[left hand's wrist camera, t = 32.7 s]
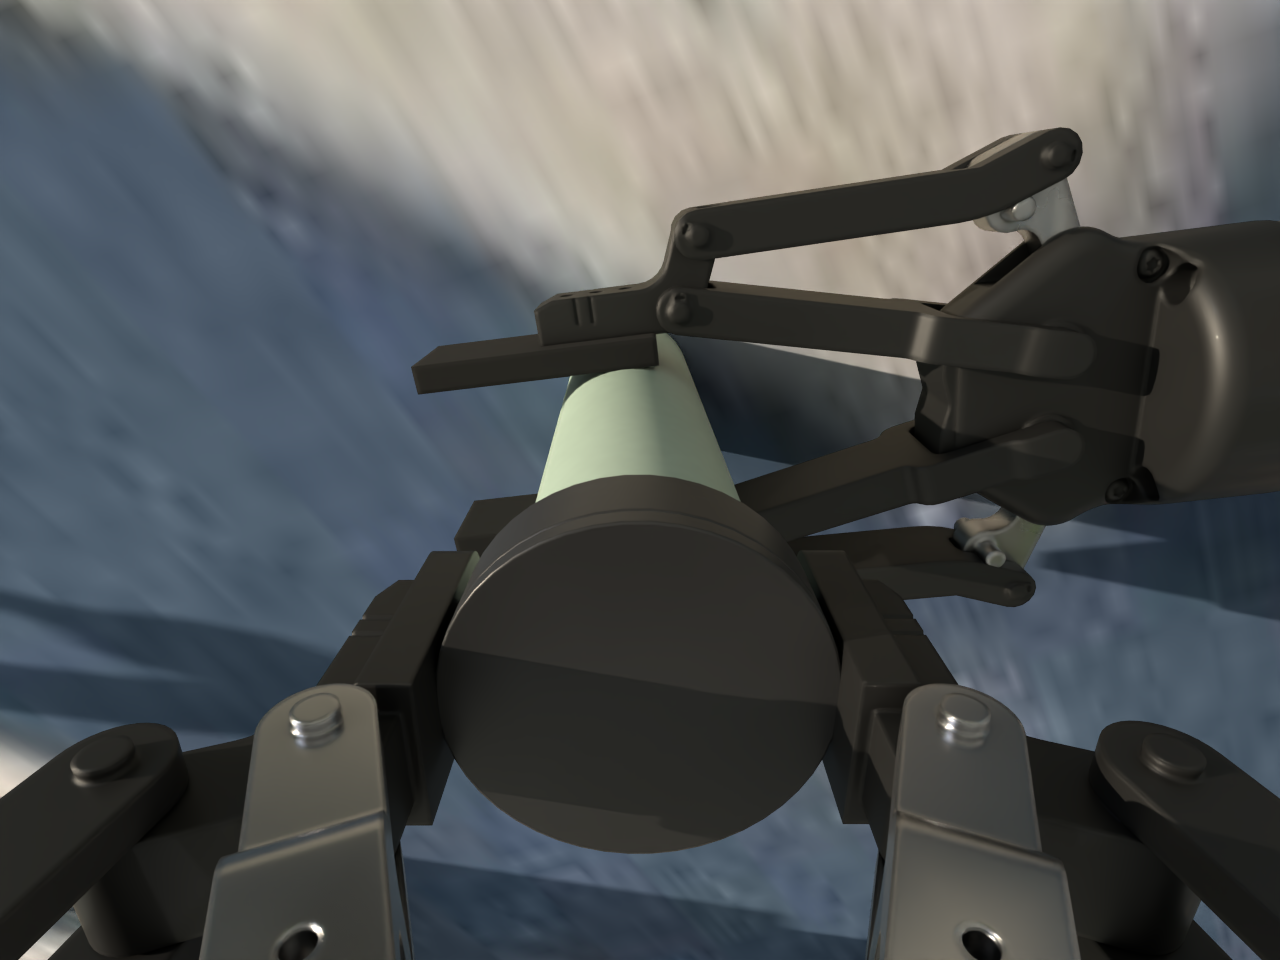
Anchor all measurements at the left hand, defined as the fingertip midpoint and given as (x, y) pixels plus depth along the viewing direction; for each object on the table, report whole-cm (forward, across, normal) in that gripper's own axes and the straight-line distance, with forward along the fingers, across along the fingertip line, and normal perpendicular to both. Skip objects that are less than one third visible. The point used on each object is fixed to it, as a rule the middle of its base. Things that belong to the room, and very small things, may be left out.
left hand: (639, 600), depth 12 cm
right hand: (+9, -6, -1) cm, 11 cm away
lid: (-2, 0, 0) cm, 2 cm away
